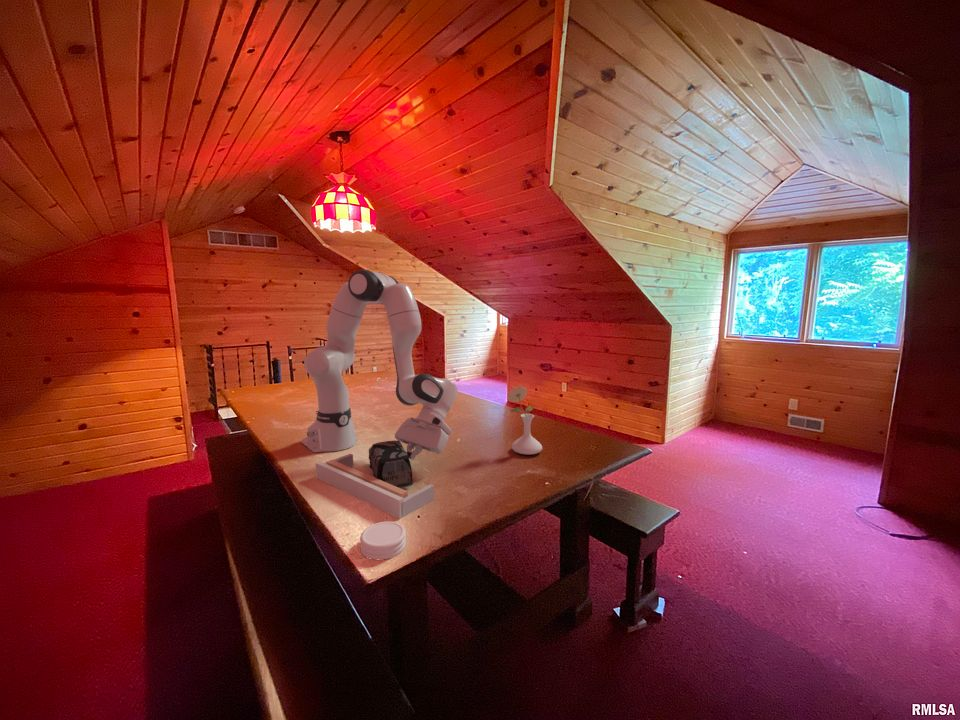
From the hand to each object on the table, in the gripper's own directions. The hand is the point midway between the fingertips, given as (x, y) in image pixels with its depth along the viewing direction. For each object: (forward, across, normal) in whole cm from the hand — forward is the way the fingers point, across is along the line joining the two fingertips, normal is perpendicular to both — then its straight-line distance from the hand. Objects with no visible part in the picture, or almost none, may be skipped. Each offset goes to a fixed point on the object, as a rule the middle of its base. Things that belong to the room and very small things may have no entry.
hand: (408, 458), depth 126 cm
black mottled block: (+8, -2, -1) cm, 8 cm away
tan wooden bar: (+15, 0, -9) cm, 18 cm away
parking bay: (+14, 0, -8) cm, 16 cm away
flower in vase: (-23, +22, +30) cm, 43 cm away
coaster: (+25, +25, -18) cm, 40 cm away
